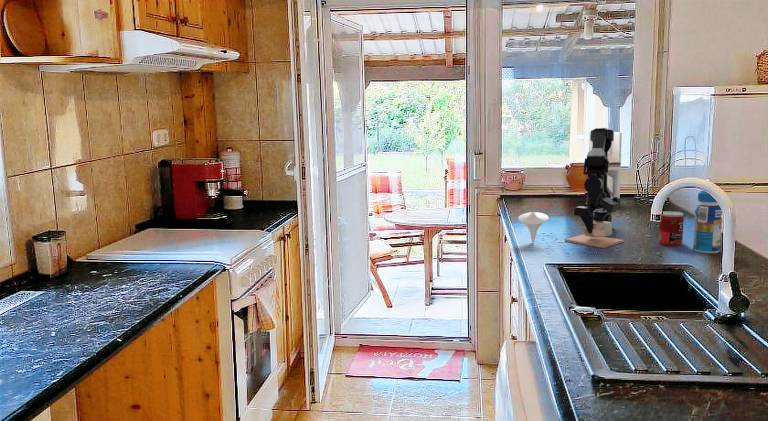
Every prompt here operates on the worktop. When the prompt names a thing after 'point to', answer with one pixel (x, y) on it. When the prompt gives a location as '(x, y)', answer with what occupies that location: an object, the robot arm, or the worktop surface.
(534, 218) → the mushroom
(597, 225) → the beech block
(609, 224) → the sage block
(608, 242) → the terracotta tile
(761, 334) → the worktop surface
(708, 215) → the beverage bottle
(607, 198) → the robot arm
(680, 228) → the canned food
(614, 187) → the tall white pillar
